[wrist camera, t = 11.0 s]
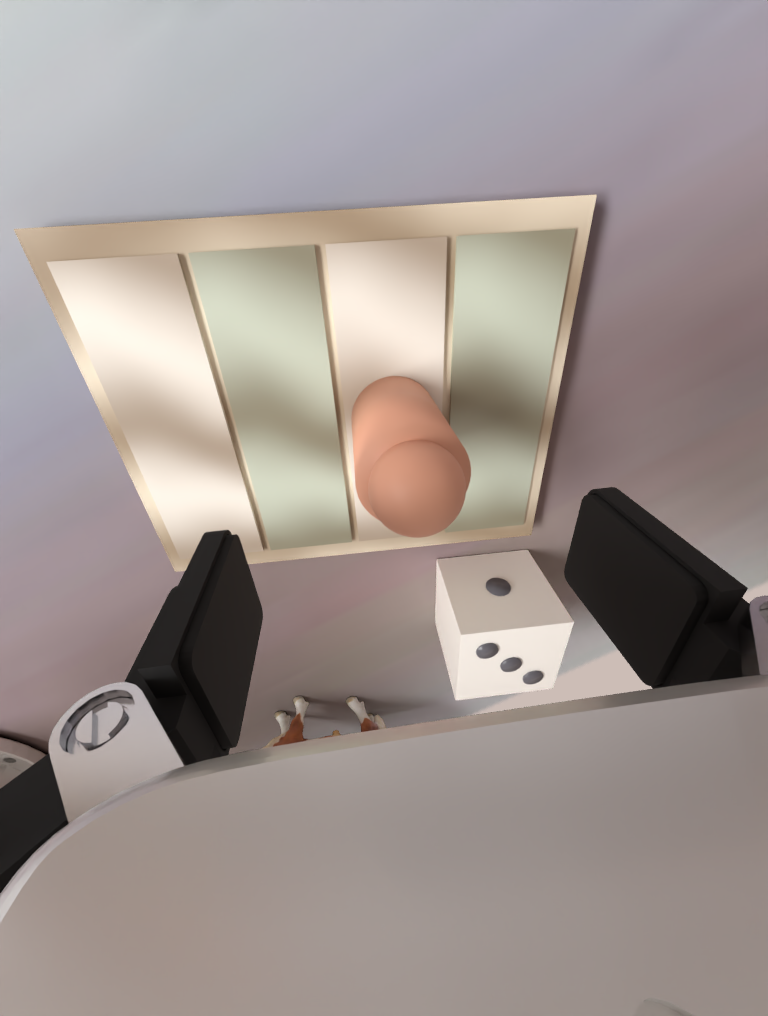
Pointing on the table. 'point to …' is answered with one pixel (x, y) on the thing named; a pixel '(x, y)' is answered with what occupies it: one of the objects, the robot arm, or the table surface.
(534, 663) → the die
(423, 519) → the peach rounded cylinder
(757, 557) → the table surface
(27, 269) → the table surface
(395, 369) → the game board
